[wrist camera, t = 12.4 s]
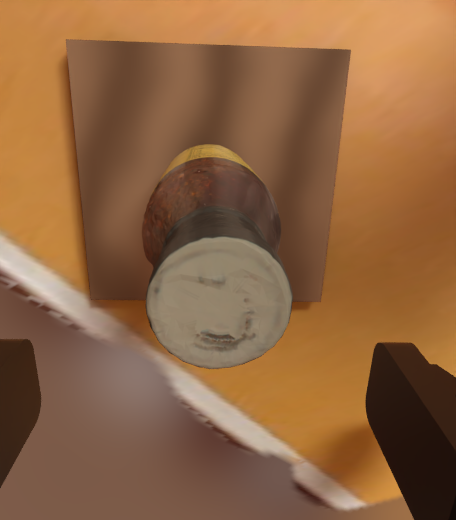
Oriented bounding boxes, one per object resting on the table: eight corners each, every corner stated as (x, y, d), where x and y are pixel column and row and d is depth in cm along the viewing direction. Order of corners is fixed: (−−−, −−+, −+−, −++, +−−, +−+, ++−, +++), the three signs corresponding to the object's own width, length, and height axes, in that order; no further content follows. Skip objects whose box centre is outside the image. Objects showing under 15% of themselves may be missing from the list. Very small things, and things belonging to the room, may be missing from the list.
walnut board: (344, 52, 29) (350, 49, 27) (316, 293, 35) (320, 301, 34) (72, 42, 28) (65, 39, 26) (95, 291, 34) (90, 299, 33)
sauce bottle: (217, 244, 32) (231, 453, 13) (146, 195, 30) (47, 352, 12) (272, 173, 30) (378, 296, 11) (200, 117, 28) (185, 154, 10)
